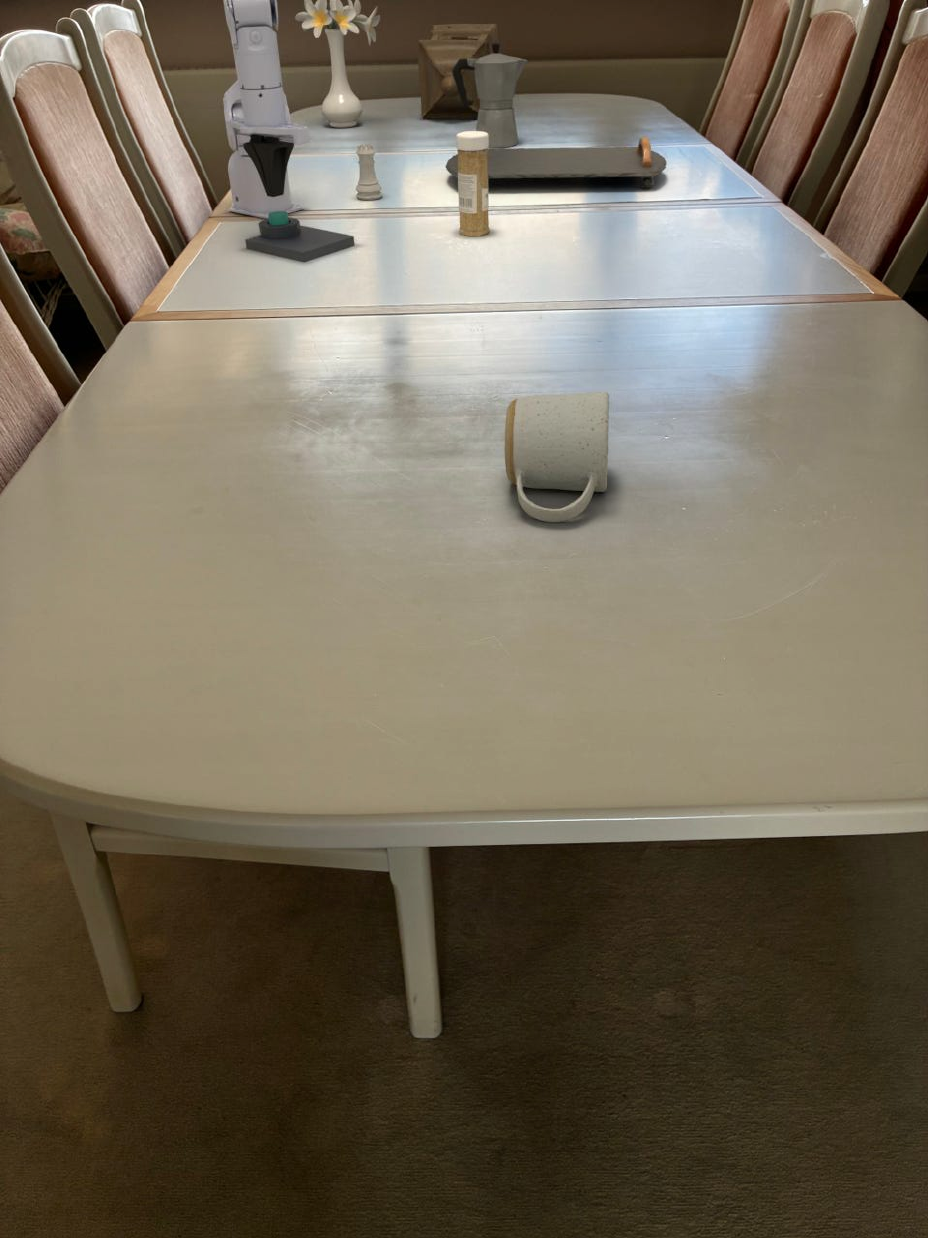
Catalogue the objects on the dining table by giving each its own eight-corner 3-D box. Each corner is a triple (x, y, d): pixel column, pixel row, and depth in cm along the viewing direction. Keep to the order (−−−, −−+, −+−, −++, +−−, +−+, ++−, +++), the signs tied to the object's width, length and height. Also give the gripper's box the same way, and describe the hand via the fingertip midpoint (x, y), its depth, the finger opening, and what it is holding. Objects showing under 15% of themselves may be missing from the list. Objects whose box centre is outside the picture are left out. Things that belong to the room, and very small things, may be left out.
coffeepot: (521, 137, 202) (522, 38, 192) (533, 145, 195) (535, 42, 184) (449, 142, 200) (446, 42, 189) (459, 151, 192) (456, 47, 182)
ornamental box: (481, 138, 217) (491, 44, 205) (404, 127, 217) (410, 33, 206) (496, 108, 244) (505, 24, 233) (428, 99, 245) (434, 14, 233)
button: (265, 225, 138) (264, 213, 137) (280, 221, 140) (278, 209, 139) (278, 228, 137) (277, 216, 136) (293, 223, 138) (291, 212, 138)
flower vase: (384, 128, 215) (375, -4, 200) (302, 131, 215) (287, -2, 201) (388, 119, 226) (380, -8, 211) (310, 121, 226) (297, -6, 211)
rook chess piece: (386, 195, 163) (383, 143, 158) (376, 201, 160) (372, 148, 155) (362, 193, 164) (358, 142, 159) (351, 199, 161) (347, 147, 156)
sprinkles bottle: (495, 233, 141) (495, 132, 133) (469, 238, 139) (467, 136, 131) (478, 227, 144) (476, 128, 136) (452, 232, 142) (449, 132, 134)
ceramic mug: (510, 460, 82) (510, 375, 77) (607, 463, 81) (613, 377, 76) (499, 525, 74) (498, 434, 69) (606, 529, 73) (613, 437, 68)
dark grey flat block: (242, 248, 138) (239, 226, 136) (293, 233, 144) (291, 211, 143) (304, 262, 132) (301, 240, 130) (354, 246, 138) (352, 224, 136)
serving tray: (441, 194, 162) (440, 154, 159) (451, 165, 181) (450, 129, 177) (672, 191, 160) (676, 150, 156) (658, 162, 178) (661, 125, 175)
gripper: (202, 86, 129) (220, 194, 137) (275, 94, 122) (289, 207, 130) (243, 80, 134) (257, 184, 142) (315, 87, 126) (326, 197, 134)
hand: (275, 195), depth 136 cm, fingers closed
